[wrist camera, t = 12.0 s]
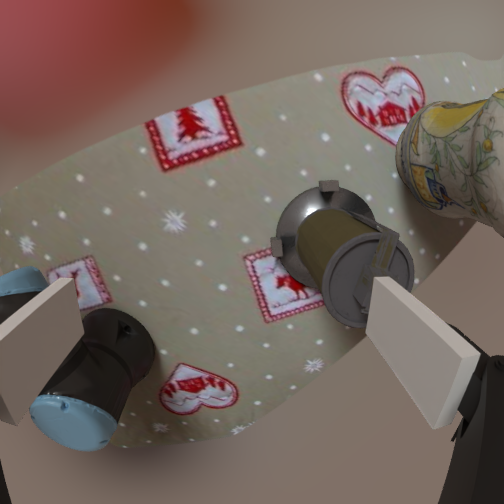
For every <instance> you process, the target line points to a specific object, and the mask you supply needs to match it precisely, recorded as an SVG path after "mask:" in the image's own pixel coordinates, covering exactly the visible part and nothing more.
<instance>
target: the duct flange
mask: <svg viewBox="0 0 504 504" xmlns="http://www.w3.org/2000/svg"><path fill="white" fill-rule="evenodd" d="M326 207H335V208H339V209H342V210H344V211H346V212H348V213H349V214H350V215H352V216H353V217H354V218H356V219H358V220H360V221H362V222H364V223H365V224H367V225H369V226H371V227H373V228H375V229H376V230H378V231H380V232H382V231H383V229H382V228H381V227H377V226H376V225H375V224H373V223H372V222H370V221H368V220H366V219H364V218H362V217H360V216H358V215H356V214H354V213H357V214H360V215H363V216H365V217H367V218H369V219H371V220H373V221H375V218H374V215H373V213H372V211H371V209H370V208H369V206H368V205H367V204H366V203H365V201H364V200H363V199H361V198H360V197H359V196H358V195H356V194H355V193H353V192H351V191H349V190H347V189H344V188H340V187H339V182H338V181H337V180H326V181H319V187H315V188H311V189H309V190H306V191H304V192H303V193H301V194H299V195H298V196H297V197H295V198H294V199H293V200H292V201H291V202H290V203H289V204H288V206H287V207H286V208H285V210H284V211H283V213H282V215H281V217H280V220H279V222H278V226H277V231H276V237H271V238H270V239H271V251H272V256H273V257H280V259H281V262H282V264H283V266H284V267H285V269H286V270H287V272H288V273H289V274H290V275H291V276H292V277H293V278H294V279H296V280H297V281H298V282H300V283H302V284H304V285H306V286H309V287H312V288H317V289H318V287H317V285H316V284H315V282H314V280H313V278H312V277H311V275H310V273H309V272H308V270H307V268H306V267H305V266H304V265H303V264H302V263H301V261H300V260H299V258H298V256H297V253H296V249H295V238H296V233H297V230H298V227H299V226H300V224H301V222H302V221H303V220H304V219H305V218H306V217H307V216H308V215H309V214H310V213H312V212H314V211H315V210H317V209H321V208H326ZM350 211H351V212H350ZM352 212H354V213H352ZM375 222H376V221H375Z"/></svg>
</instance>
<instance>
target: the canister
mask: <svg viewBox="0 0 504 504" xmlns="http://www.w3.org/2000/svg"><path fill="white" fill-rule="evenodd" d="M350 212H351V211H350ZM352 213H354V212H352ZM354 214H356V215H358V216H360V217H362V218H364V219H366V220H368V221H370V222H372V223H373V224H375V225H377V226H379V227H381V228H382V229H383V231H382V232H380V231H378V230H376V229H375V228H373V227H371V226H369V225H367V224H365V223H364V222H362V221H360V220H358V219H356V218H354V217H353V216H352V215H350V214H349V213H348V212H346V211H344V210H342V209H339V208H335V207H326V208H321V209H317V210H315V211H314V212H312V213H310V214H309V215H308V216H307V217H306V218H305V219H304V220H303V221H302V222H301V224H300V226H299V227H298V230H297V233H296V238H295V249H296V253H297V256H298V258H299V260H300V261H301V263H302V264H303V265H304V266H305V267H306V268H307V270H308V272H309V273H310V275H311V277H312V278H313V280H314V282H315V284H316V285H317V287H318V289H319V290H320V292H321V294H322V297H323V300H324V303H325V306H326V308H327V310H328V311H329V313H330V314H331V315H332V316H333V317H334V318H335V319H336V320H337V321H338V322H340V323H342V324H344V325H346V326H350V327H355V328H366V327H367V321H368V315H369V309H370V302H371V296H372V289H373V281H374V277H390V278H392V279H393V280H394V281H395V282H397V283H398V284H399V285H400V286H402V287H403V288H404V289H405V290H407V291H408V292H409V293H410V292H411V290H412V287H413V282H414V265H413V259H412V257H411V255H410V253H409V251H408V249H407V248H406V247H405V245H404V244H403V243H402V242H401V241H399V240H398V239H399V233H397V232H395V231H393V230H391V229H389V228H387V227H385V226H383V225H381V224H379V223H377V222H375V221H373V220H371V219H369V218H367V217H365V216H363V215H360V214H357V213H354Z"/></svg>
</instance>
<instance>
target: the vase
mask: <svg viewBox="0 0 504 504" xmlns="http://www.w3.org/2000/svg"><path fill="white" fill-rule="evenodd" d="M396 165H397V169H398V172H399V174H400V176H401V178H402V180H403V181H404V183H405V184H406V185H407V186H408V187H409V189H410V190H411V192H412V193H413V195H414V196H415V198H416V199H417V200H418V201H419V202H420V203H421V204H422V205H423V206H424V207H425V208H427V209H428V210H430V211H431V212H432V213H435V214H437V215H439V216H442V217H446V218H464V217H468V218H471V219H474V220H476V221H478V222H481V223H483V224H485V225H488V226H491V227H493V228H494V229H495V231H496V232H497V233H499V234H500V235H501V236H502V237H503V238H504V88H503V89H500V90H499V91H497V92H495V93H494V94H492V95H491V97H490V98H489V99H485V100H480V101H476V102H472V103H467V104H461V103H457V102H451V101H439V102H433V103H431V104H429V105H427V106H425V107H423V108H422V109H420V110H419V111H418V112H417V113H416V114H415V115H414V116H413V117H412V118H411V120H410V121H409V123H408V124H407V126H406V128H405V129H404V130H403V132H402V133H401V135H400V137H399V140H398V142H397V146H396Z"/></svg>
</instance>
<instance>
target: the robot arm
mask: <svg viewBox="0 0 504 504" xmlns="http://www.w3.org/2000/svg"><path fill="white" fill-rule="evenodd" d="M365 333H366V334H367V336H368V337H369V338H370V340H371V341H372V342H373V344H374V345H375V347H376V348H377V350H378V351H379V352H380V354H381V355H382V357H383V358H384V359H385V361H386V362H387V364H388V365H389V366H390V368H391V369H392V371H393V372H394V373H395V375H396V376H397V378H398V379H399V381H400V382H401V384H402V385H403V387H404V388H405V389H406V391H407V392H408V394H409V395H410V397H411V398H412V399H413V401H414V402H415V404H416V405H417V407H418V408H419V410H420V411H421V413H422V414H423V416H424V417H425V419H426V420H427V422H428V423H429V425H430V426H431V428H432V429H437V428H440V427H443V426H446V425H449V424H451V423H452V421H453V419H454V417H455V415H456V413H457V410H458V411H459V412H460V413H461V414H462V416H463V418H462V420H461V422H460V424H459V426H458V428H457V430H456V432H455V434H454V436H453V438H452V439H451V441H454V440H455V438H456V442H455V447H454V451H453V455H452V459H451V463H450V466H449V470H448V473H447V477H446V480H445V484H444V487H443V490H442V493H441V496H440V499H439V502H438V504H504V356H499V355H496V356H492V357H490V356H488V355H487V354H486V353H485V352H484V351H483V350H482V349H480V348H479V347H478V346H477V345H476V344H475V343H474V342H473V341H470V339H469V338H468V337H467V336H464V334H463V333H462V332H461V331H460V330H459V329H457V328H456V327H454V326H452V325H450V324H448V323H446V322H444V321H442V319H441V318H439V317H438V316H437V315H436V314H435V313H433V312H432V311H431V310H430V309H429V308H427V307H426V306H425V305H424V304H422V303H421V302H420V301H419V300H418V299H417V298H415V297H414V296H413V295H412V294H410V293H409V292H408V291H407V290H405V289H404V288H403V287H402V286H400V285H399V284H398V283H397V282H395V281H394V280H393V279H392V278H390V277H374V281H373V289H372V296H371V302H370V309H369V315H368V321H367V327H366V332H365ZM154 355H155V352H154V345H153V342H152V339H151V337H150V335H149V334H148V332H147V331H146V329H145V328H144V327H143V326H142V325H141V324H140V323H139V322H138V321H137V320H136V319H135V318H133V317H132V316H130V315H128V314H126V313H124V312H122V311H119V310H116V309H110V308H103V309H97V310H94V311H92V312H90V313H89V314H88V315H87V316H86V317H85V318H84V319H83V320H82V319H81V315H80V310H79V305H78V300H77V294H76V289H75V283H74V278H59V279H58V280H56V281H55V282H54V283H52V284H51V285H50V286H49V285H48V283H47V281H46V280H45V278H44V276H43V275H42V273H41V272H40V270H38V269H37V268H35V267H32V266H28V267H23V268H20V269H17V270H14V271H12V272H9V273H7V274H5V275H2V276H0V419H1V421H3V422H6V423H9V424H12V425H15V426H17V425H18V424H19V422H20V420H21V419H22V418H23V416H24V415H25V413H26V412H27V410H28V409H29V411H30V414H31V418H32V420H33V422H34V423H35V424H36V426H37V427H38V428H39V429H40V430H41V431H42V432H43V433H44V434H45V435H46V436H48V437H49V438H51V439H52V440H54V441H55V442H57V443H59V444H61V445H63V446H66V447H69V448H71V449H75V450H80V451H96V450H100V449H102V448H103V447H105V446H106V445H107V444H108V442H109V441H110V439H111V437H112V435H113V433H114V432H115V430H116V429H117V424H118V421H119V419H120V416H121V413H122V411H123V408H124V406H125V403H126V400H127V398H128V395H129V393H130V391H131V388H132V387H134V386H135V385H136V384H137V382H139V381H141V380H142V379H143V378H144V377H145V376H146V375H147V374H148V372H149V371H150V369H151V366H152V363H153V361H154ZM0 504H12V503H11V499H10V496H9V493H8V489H7V486H6V482H5V478H4V474H3V470H2V465H1V461H0Z"/></svg>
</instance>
